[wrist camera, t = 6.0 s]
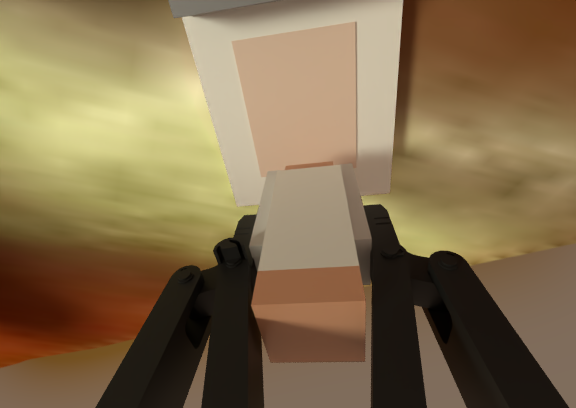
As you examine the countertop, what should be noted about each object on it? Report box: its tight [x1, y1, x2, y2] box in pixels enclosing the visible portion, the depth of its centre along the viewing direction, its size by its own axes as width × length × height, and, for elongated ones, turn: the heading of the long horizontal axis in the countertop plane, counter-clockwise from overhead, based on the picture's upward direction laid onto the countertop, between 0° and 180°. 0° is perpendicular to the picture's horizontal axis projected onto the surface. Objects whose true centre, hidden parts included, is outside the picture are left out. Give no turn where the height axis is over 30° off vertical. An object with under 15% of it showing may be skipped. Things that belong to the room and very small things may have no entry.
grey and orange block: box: [251, 161, 366, 363], centre depth 14 cm, size 4×4×10 cm
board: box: [168, 0, 403, 207], centre depth 16 cm, size 12×22×4 cm, turn 8°
